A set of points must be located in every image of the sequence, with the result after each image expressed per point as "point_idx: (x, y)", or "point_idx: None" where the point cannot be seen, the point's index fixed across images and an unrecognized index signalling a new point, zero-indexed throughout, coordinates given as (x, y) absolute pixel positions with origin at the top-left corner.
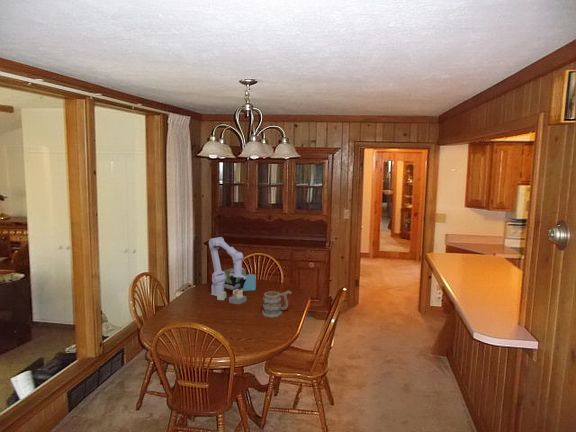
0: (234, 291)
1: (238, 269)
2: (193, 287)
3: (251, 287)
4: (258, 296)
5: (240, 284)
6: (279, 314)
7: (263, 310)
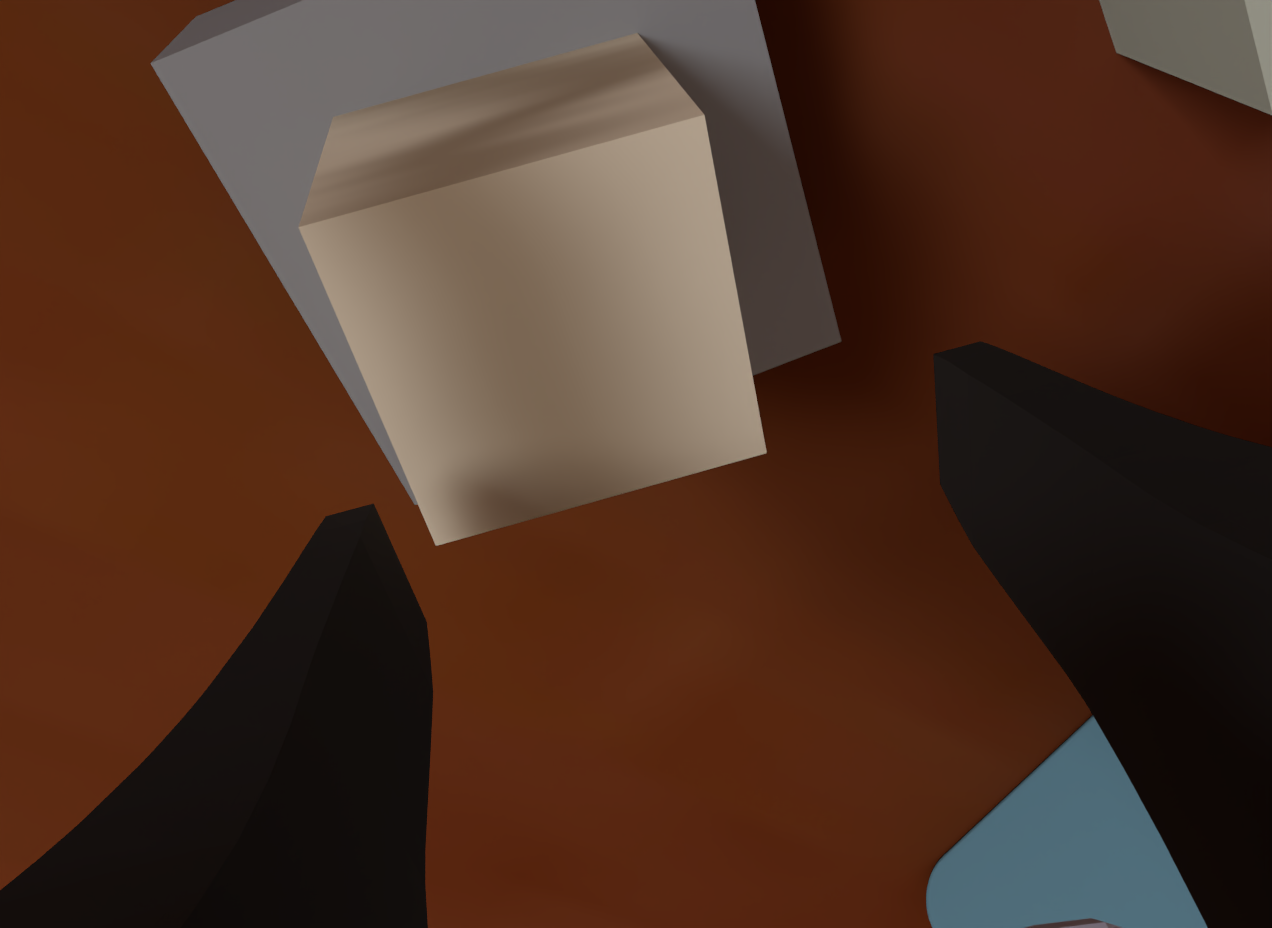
0: (571, 141)
1: None
2: None
3: (1005, 885)
4: (526, 779)
5: (304, 659)
6: None
7: None
